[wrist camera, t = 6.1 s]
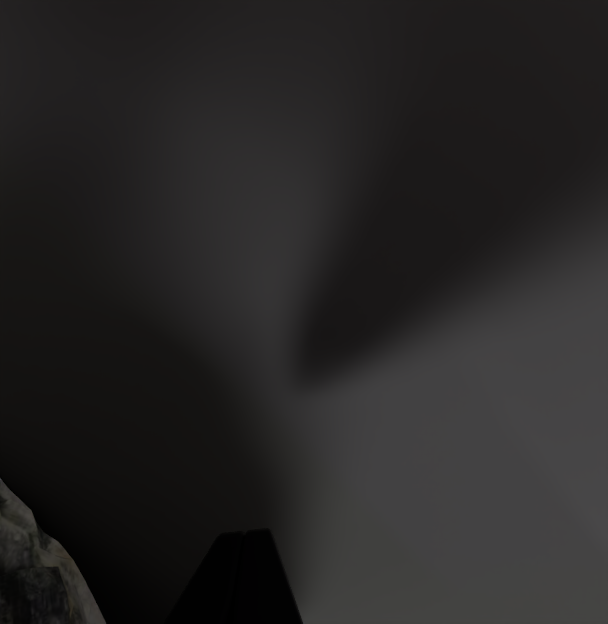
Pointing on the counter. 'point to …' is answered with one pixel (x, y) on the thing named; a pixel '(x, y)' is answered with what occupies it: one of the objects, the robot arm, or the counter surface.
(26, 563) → the rock
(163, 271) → the counter surface
